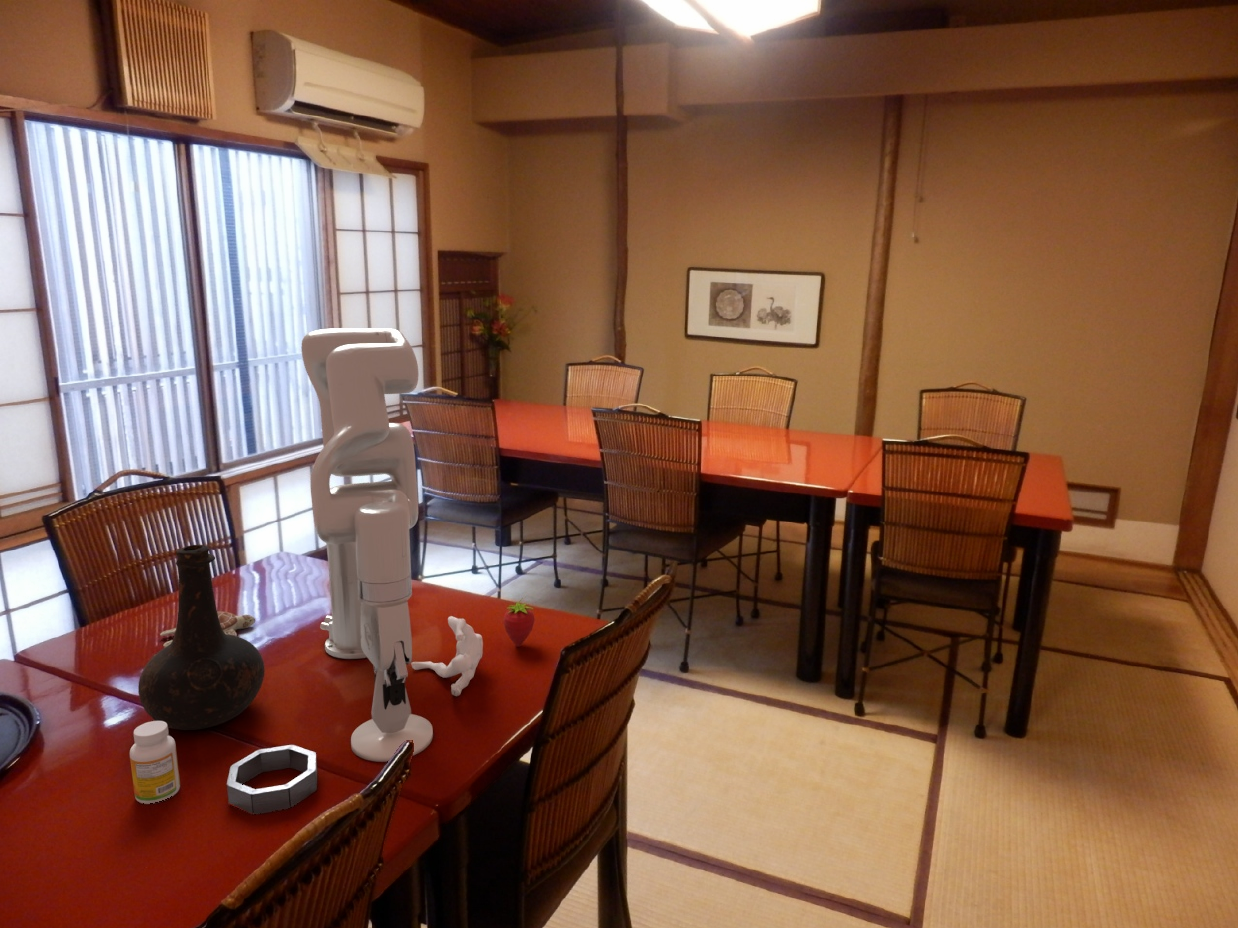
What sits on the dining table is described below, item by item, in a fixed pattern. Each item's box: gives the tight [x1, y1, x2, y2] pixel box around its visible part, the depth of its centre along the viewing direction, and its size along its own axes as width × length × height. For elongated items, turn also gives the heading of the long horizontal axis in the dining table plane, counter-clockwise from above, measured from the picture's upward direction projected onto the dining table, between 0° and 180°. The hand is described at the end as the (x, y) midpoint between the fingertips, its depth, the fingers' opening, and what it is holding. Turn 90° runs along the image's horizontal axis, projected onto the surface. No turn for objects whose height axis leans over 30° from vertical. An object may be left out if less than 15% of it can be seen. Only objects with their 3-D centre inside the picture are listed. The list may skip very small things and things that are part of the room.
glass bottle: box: [137, 544, 266, 731], centre depth 129 cm, size 18×18×28 cm
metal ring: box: [226, 744, 318, 815], centre depth 113 cm, size 11×11×3 cm
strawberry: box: [503, 598, 535, 648], centre depth 158 cm, size 6×8×10 cm
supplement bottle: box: [129, 720, 181, 805], centre depth 111 cm, size 5×5×10 cm
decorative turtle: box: [159, 610, 256, 648], centre depth 161 cm, size 18×17×5 cm
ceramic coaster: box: [350, 713, 434, 763], centre depth 126 cm, size 12×12×1 cm
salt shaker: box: [370, 661, 412, 733], centre depth 124 cm, size 6×6×13 cm
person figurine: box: [410, 615, 484, 697], centre depth 146 cm, size 13×13×18 cm
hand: (390, 700), depth 125 cm, fingers closed on salt shaker, 3 cm apart
